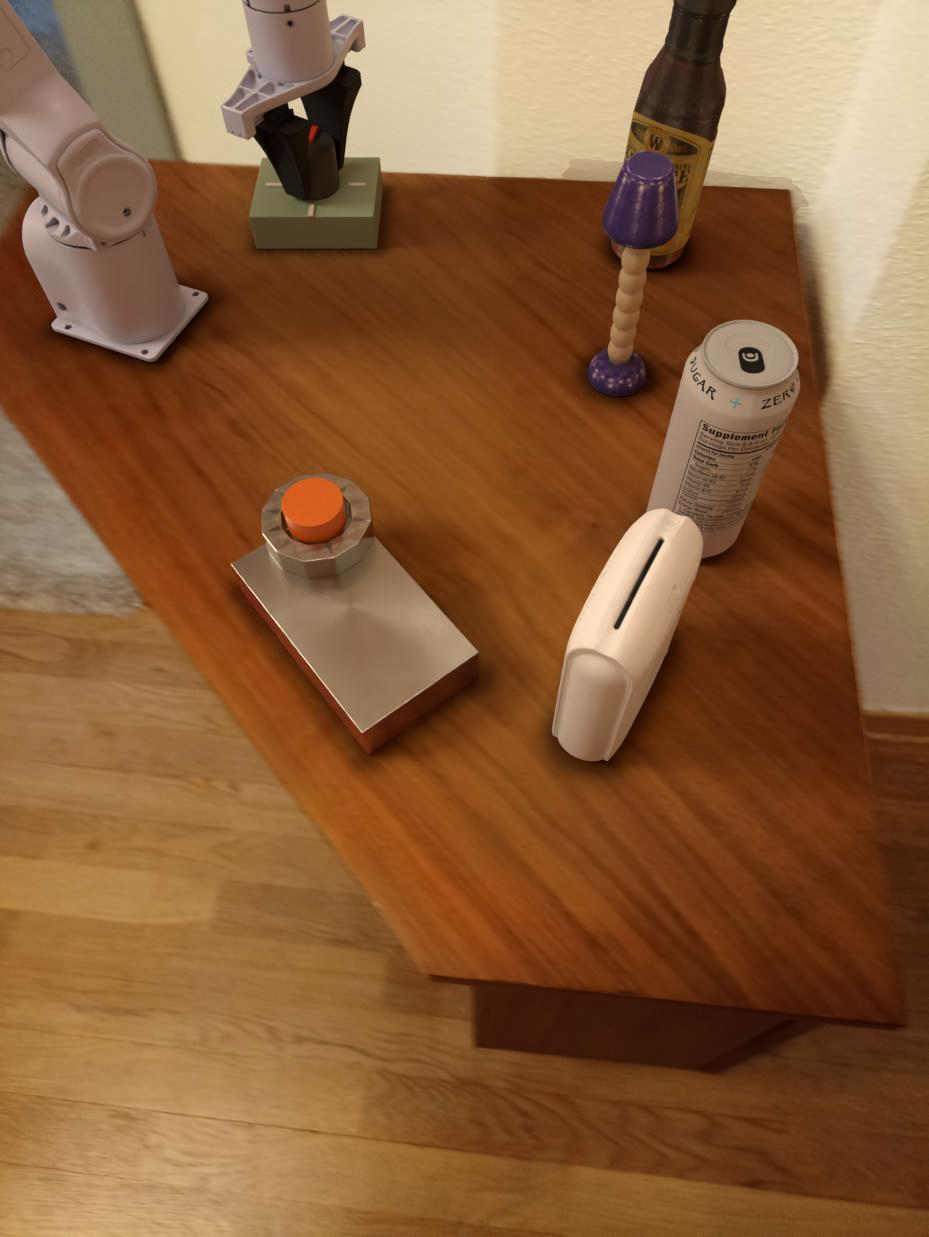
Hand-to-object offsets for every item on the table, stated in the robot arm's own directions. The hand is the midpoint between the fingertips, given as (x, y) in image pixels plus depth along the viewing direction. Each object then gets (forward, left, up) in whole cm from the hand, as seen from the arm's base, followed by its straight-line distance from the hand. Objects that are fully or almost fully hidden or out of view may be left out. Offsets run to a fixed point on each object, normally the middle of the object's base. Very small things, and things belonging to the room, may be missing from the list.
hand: (315, 179), depth 72 cm
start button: (+17, -31, +1) cm, 36 cm away
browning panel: (0, 0, -3) cm, 3 cm away
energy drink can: (+38, -19, -4) cm, 43 cm away
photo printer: (+37, -32, -4) cm, 49 cm away
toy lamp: (+29, -8, -4) cm, 30 cm away
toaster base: (+21, -35, -3) cm, 41 cm away
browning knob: (0, 0, 0) cm, 0 cm away
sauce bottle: (+27, +7, -4) cm, 28 cm away
